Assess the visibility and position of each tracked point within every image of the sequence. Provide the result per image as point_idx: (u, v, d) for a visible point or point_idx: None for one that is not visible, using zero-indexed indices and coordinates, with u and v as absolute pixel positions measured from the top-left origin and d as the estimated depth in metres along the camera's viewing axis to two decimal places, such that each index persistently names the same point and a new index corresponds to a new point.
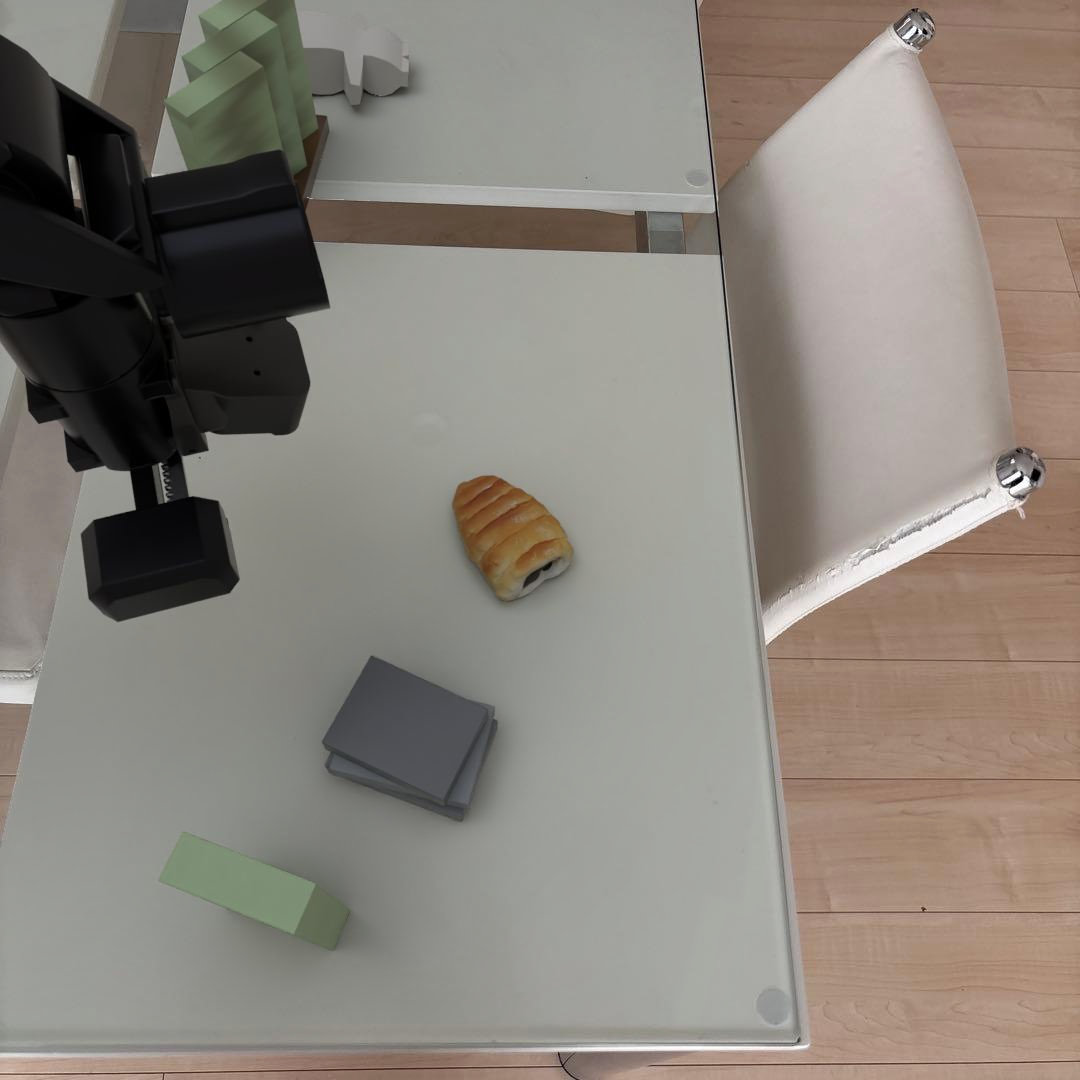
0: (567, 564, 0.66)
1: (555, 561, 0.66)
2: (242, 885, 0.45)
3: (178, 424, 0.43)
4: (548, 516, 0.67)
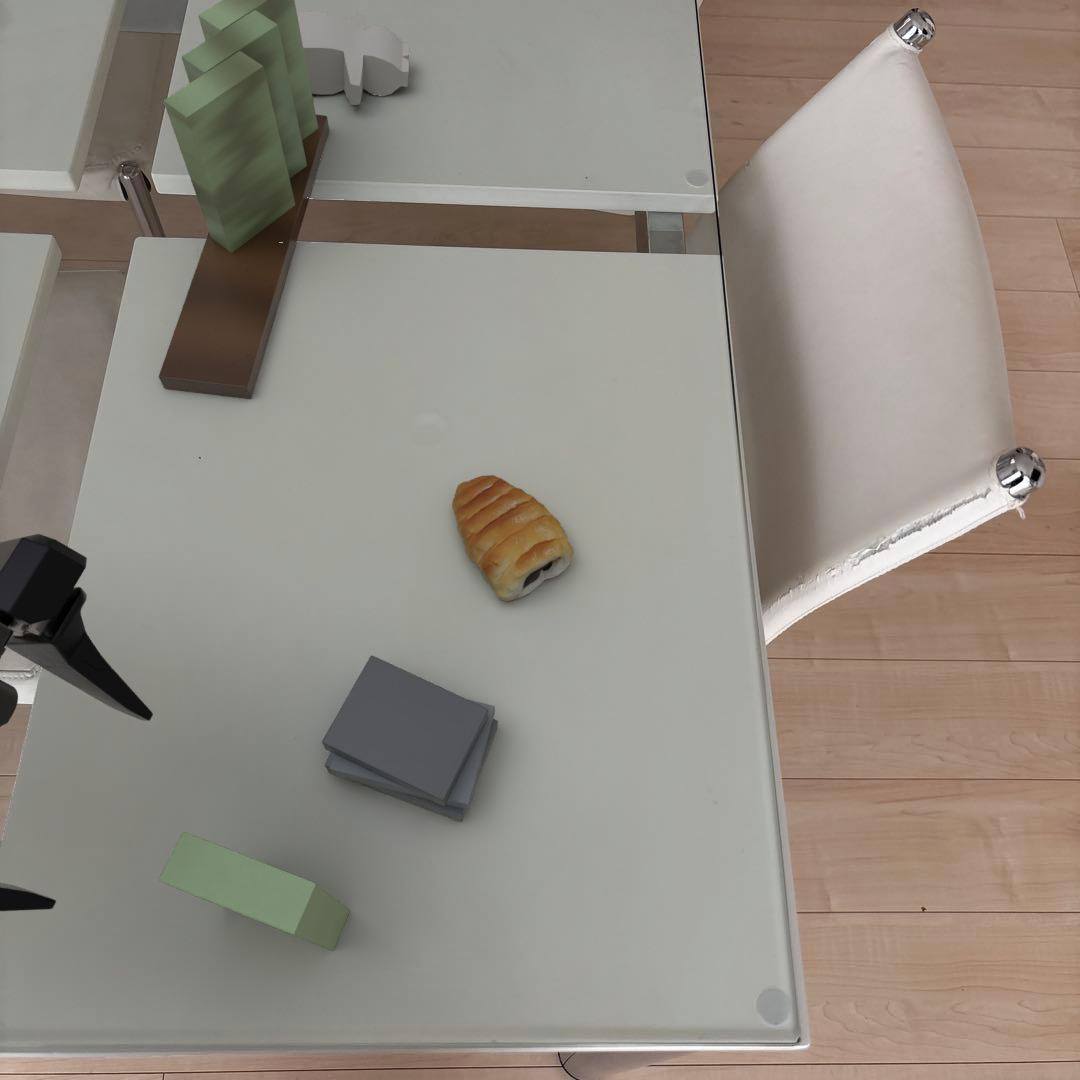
0: (567, 564, 0.66)
1: (555, 561, 0.66)
2: (242, 885, 0.45)
3: None
4: (548, 516, 0.67)
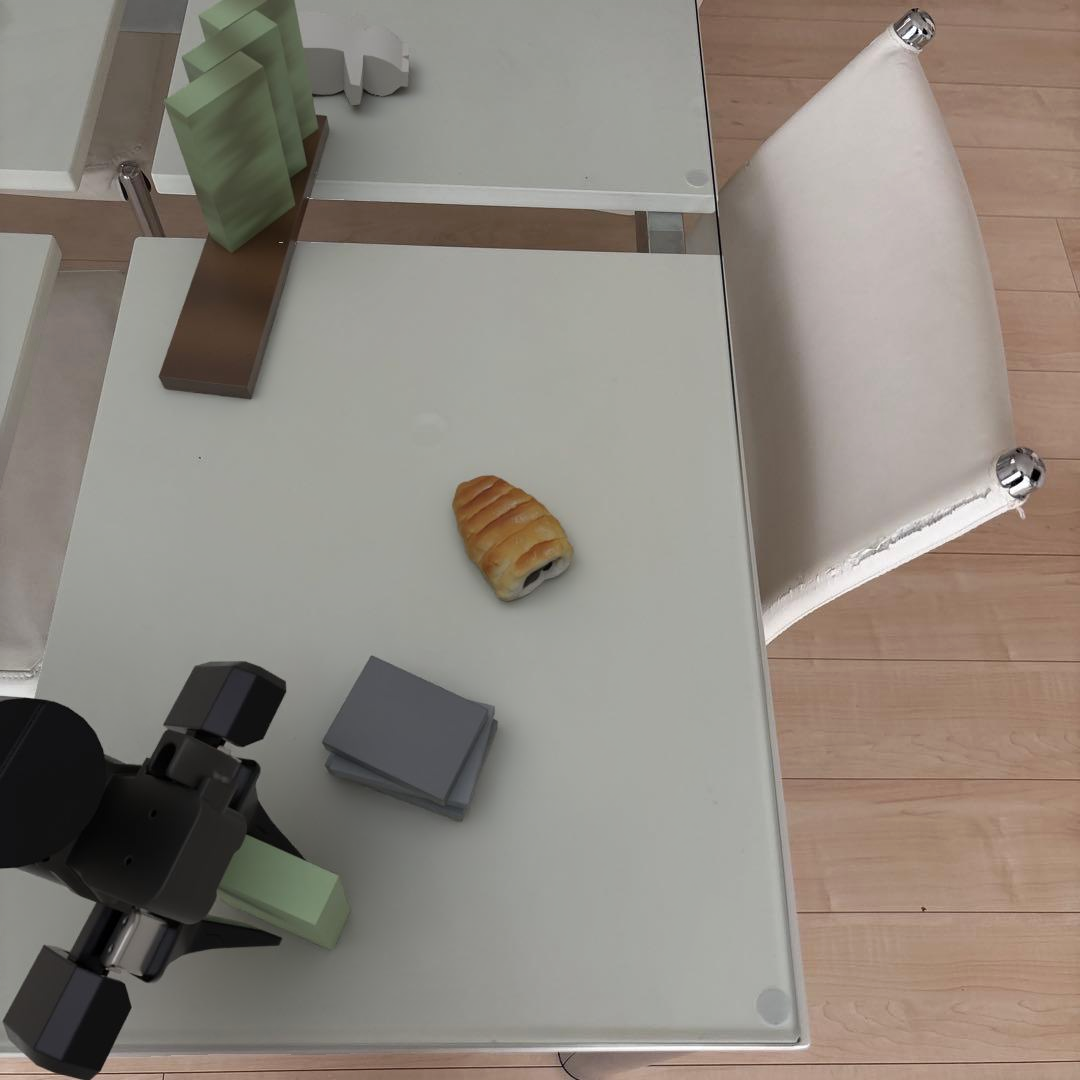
0: (567, 564, 0.66)
1: (555, 561, 0.66)
2: (264, 873, 0.45)
3: (71, 890, 0.41)
4: (548, 516, 0.67)
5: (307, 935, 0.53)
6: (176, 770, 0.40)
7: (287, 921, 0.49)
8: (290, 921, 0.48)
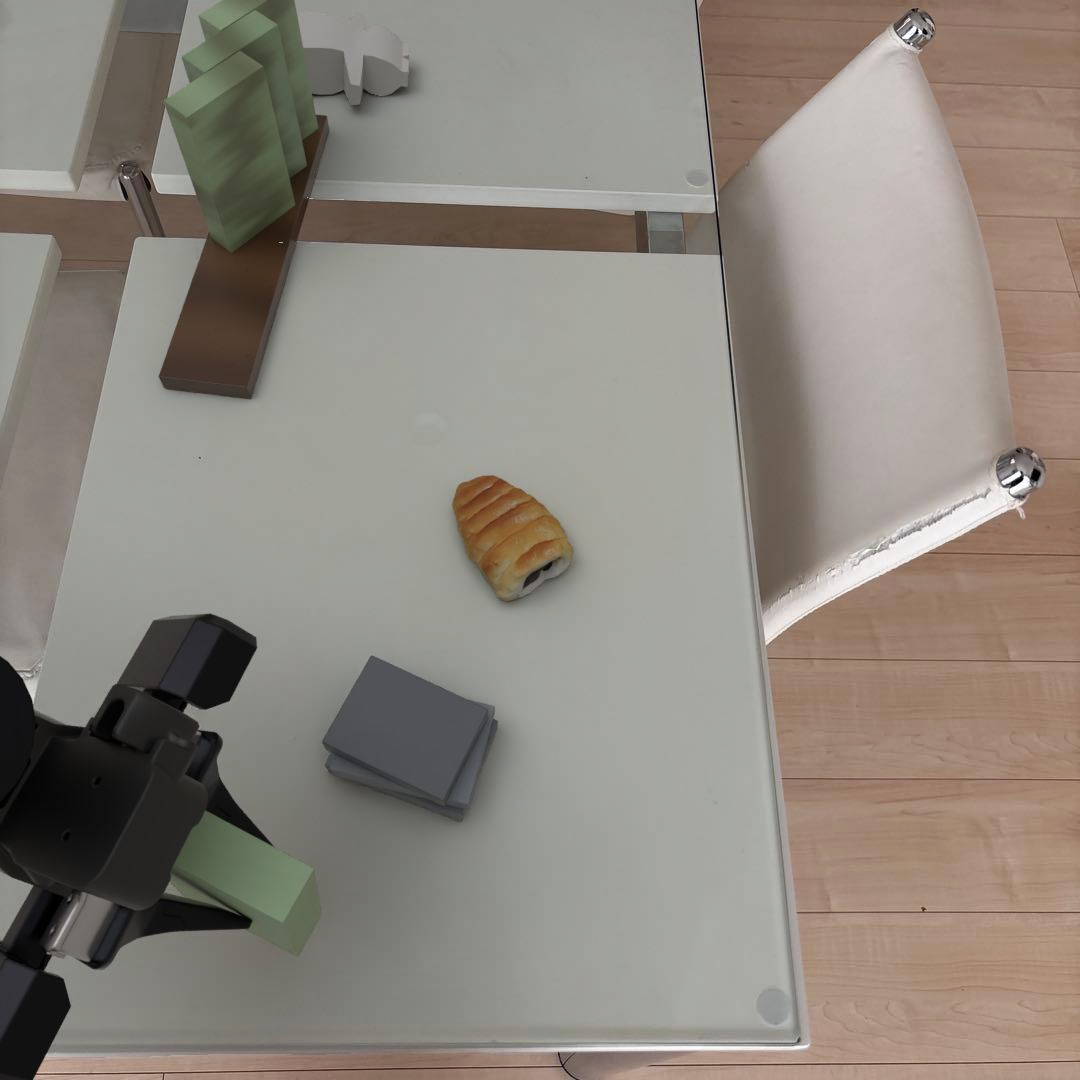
0: (567, 564, 0.66)
1: (555, 561, 0.66)
2: (229, 860, 0.40)
3: (1, 871, 0.35)
4: (548, 516, 0.67)
5: (271, 937, 0.47)
6: (124, 730, 0.34)
7: (250, 918, 0.44)
8: (254, 918, 0.43)
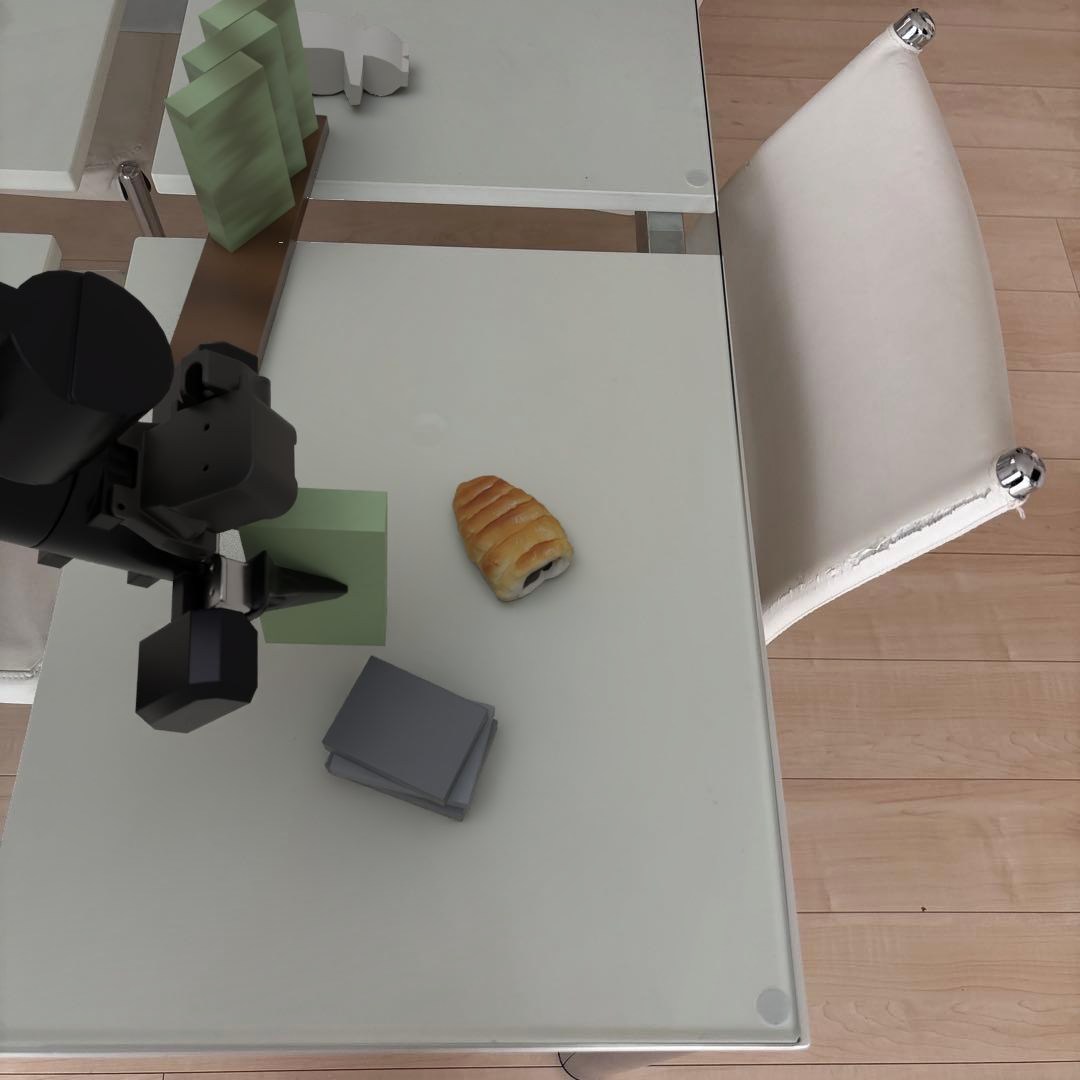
0: (567, 564, 0.66)
1: (555, 561, 0.66)
2: (319, 509, 0.47)
3: (155, 542, 0.41)
4: (548, 516, 0.67)
5: (362, 617, 0.54)
6: (211, 377, 0.41)
7: (346, 584, 0.51)
8: (351, 575, 0.50)
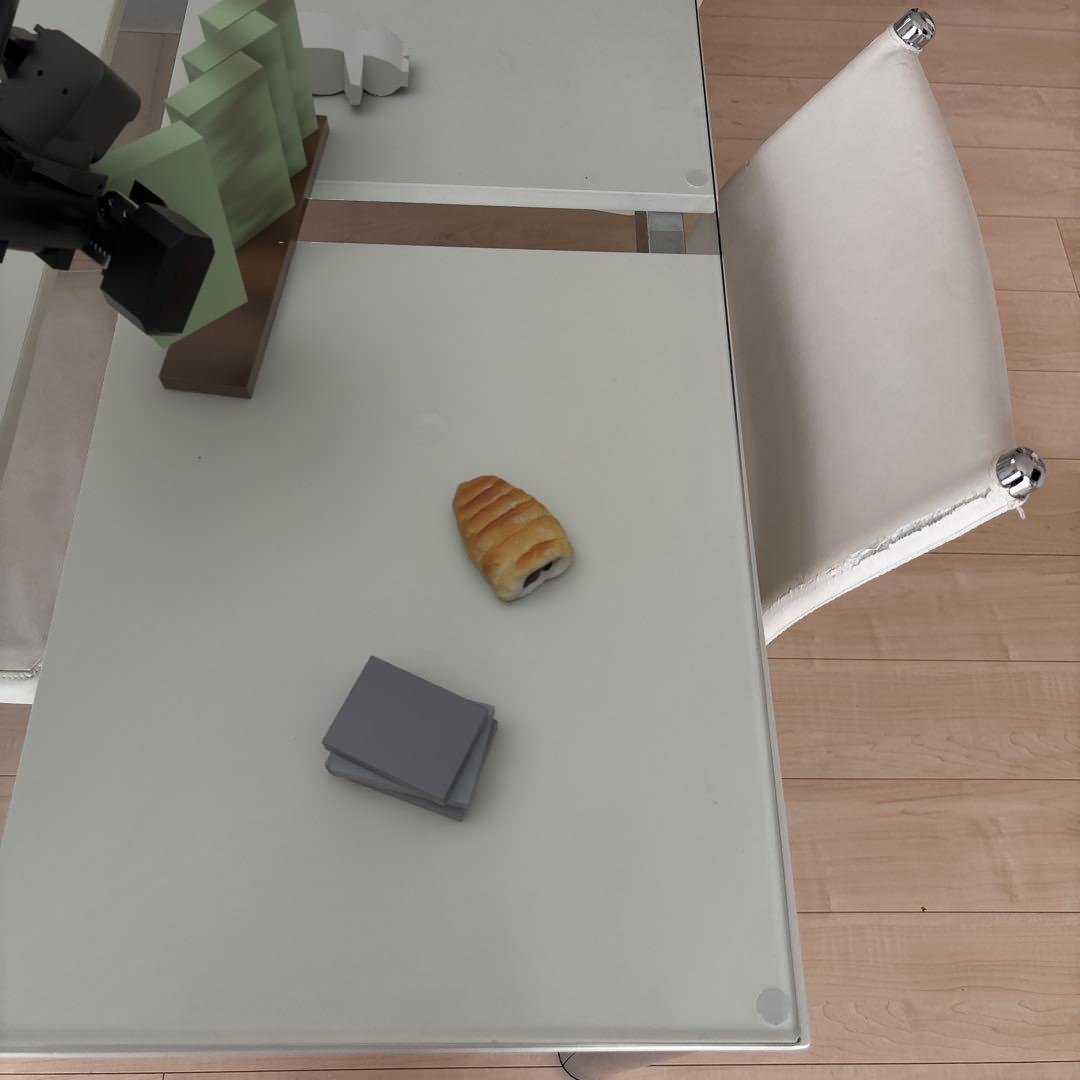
0: (567, 564, 0.66)
1: (555, 561, 0.66)
2: (146, 150, 0.57)
3: (65, 179, 0.50)
4: (548, 516, 0.67)
5: (221, 268, 0.65)
6: (16, 35, 0.49)
7: (197, 226, 0.61)
8: (197, 211, 0.61)
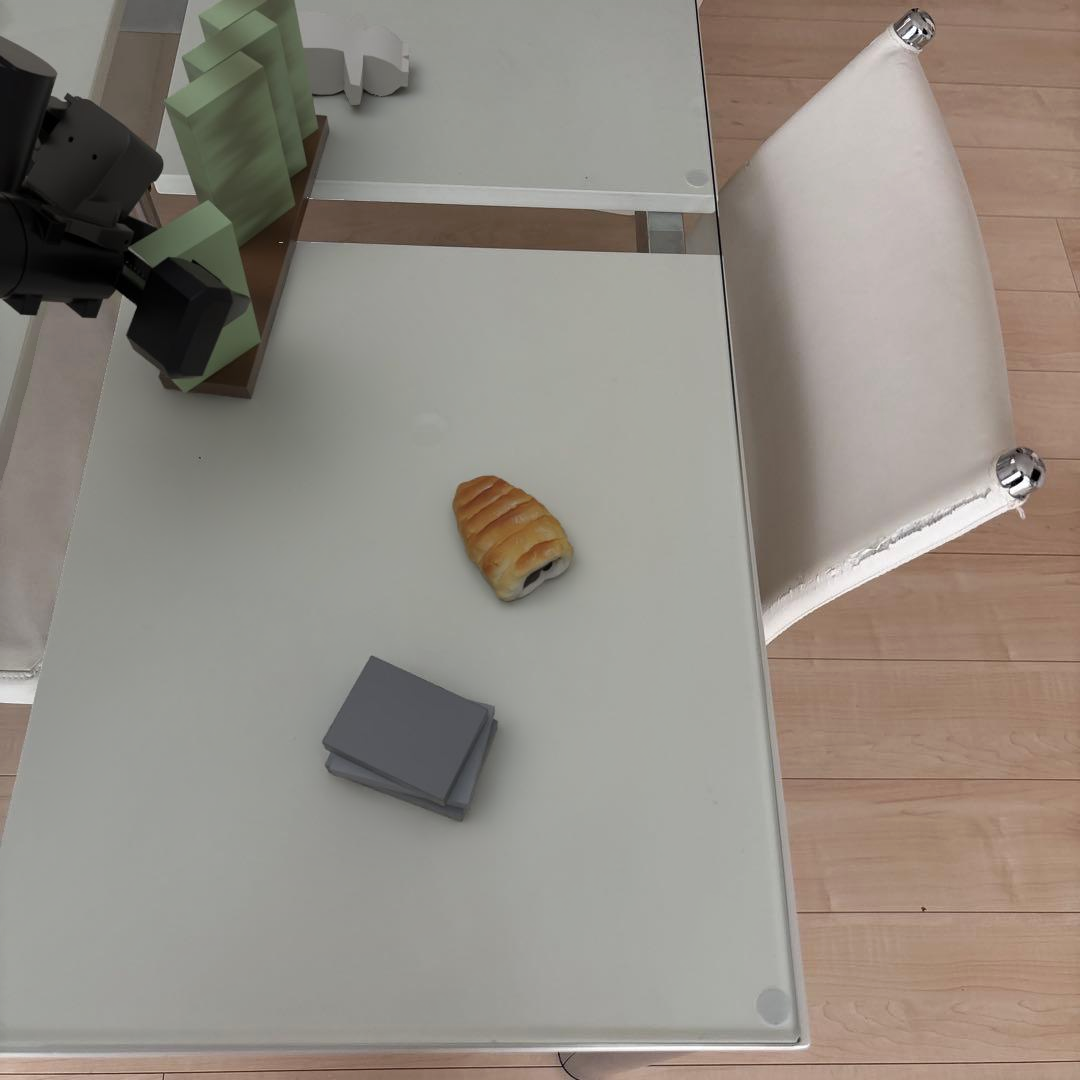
0: (567, 564, 0.66)
1: (555, 561, 0.66)
2: (178, 236, 0.60)
3: (94, 237, 0.54)
4: (548, 516, 0.67)
5: (240, 320, 0.69)
6: (48, 105, 0.53)
7: None
8: (222, 281, 0.65)
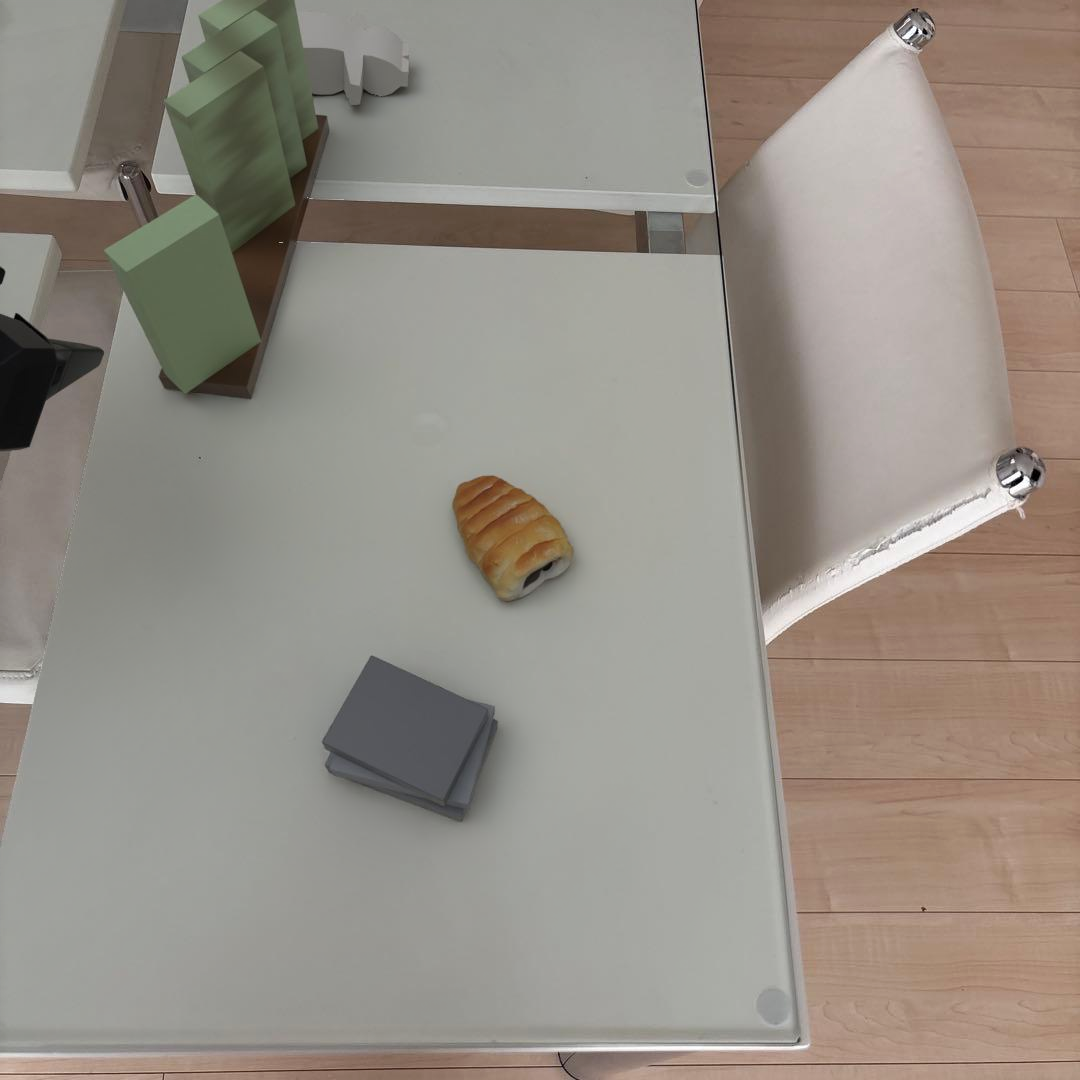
0: (567, 564, 0.66)
1: (555, 561, 0.66)
2: (166, 230, 0.60)
3: None
4: (548, 516, 0.67)
5: (236, 318, 0.69)
6: None
7: (214, 288, 0.65)
8: (214, 276, 0.65)
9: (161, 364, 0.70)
